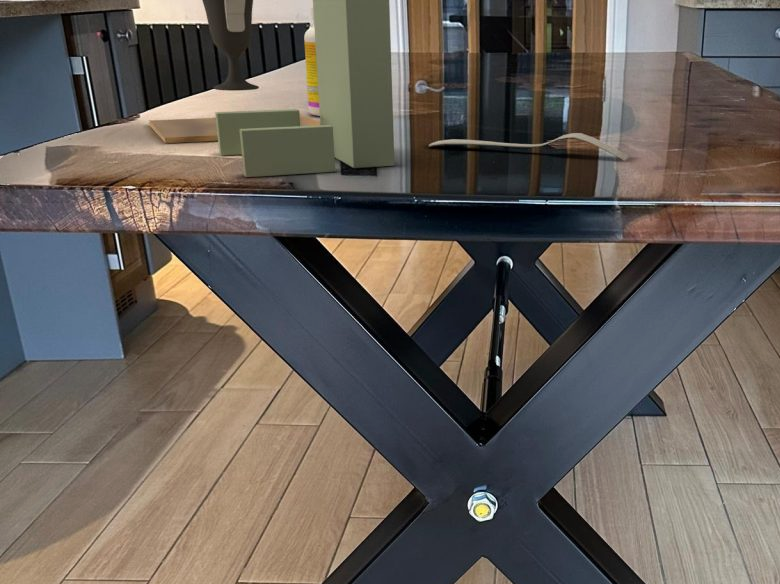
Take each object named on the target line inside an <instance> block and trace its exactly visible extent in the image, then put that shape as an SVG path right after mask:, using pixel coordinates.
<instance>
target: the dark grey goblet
mask: <svg viewBox="0 0 780 584" xmlns="http://www.w3.org/2000/svg"><path fill="white" fill-rule="evenodd" d="M201 2H202V4H203V7H204V11H205V15H206V20H207V25H208V28H209V32H210V36H211V39H212V42H213V44H214V46H215V47H216V48H217V49H218V50H219V51H221V52H222V53H223V54H224V55H225V57H226V58H227V64H228V73H227V77H226V79H225V80H224V82H222V83H220V84H217V85H215V86H212V88H213V90H217V91H229V92H230V91H231V92H232V91H233V92H234V91H238V92H239V91H253V90H258V89H259V88H260V86H259V85H256V84H253V83H250V82H249V81H248V80H246V79H245V78H244V76H243V73H242V70H241V67H240V66H241V65H240V57H241V55H242V54H243V53H244V52H245V51H246V50H247V49H248V47H249V46H250V44H251V39H252V32H253V31H252V26H253V25H252V24H253V8H254V7H253V5H254V0H245V10H244V21H245V30H244V31H242V32H230V31H228V30H227V29H226V26H225V16H224V14H226V13H225V3H224V0H202V1H201Z"/></svg>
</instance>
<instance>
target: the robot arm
mask: <svg viewBox="0 0 780 584" xmlns="http://www.w3.org/2000/svg"><path fill="white" fill-rule="evenodd" d="M224 3H225V13H226V14H224V16H225V26H226V29H227V30H228V31H230V32H242V31H244V30H245V21H244V10H245V0H224Z"/></svg>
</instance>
